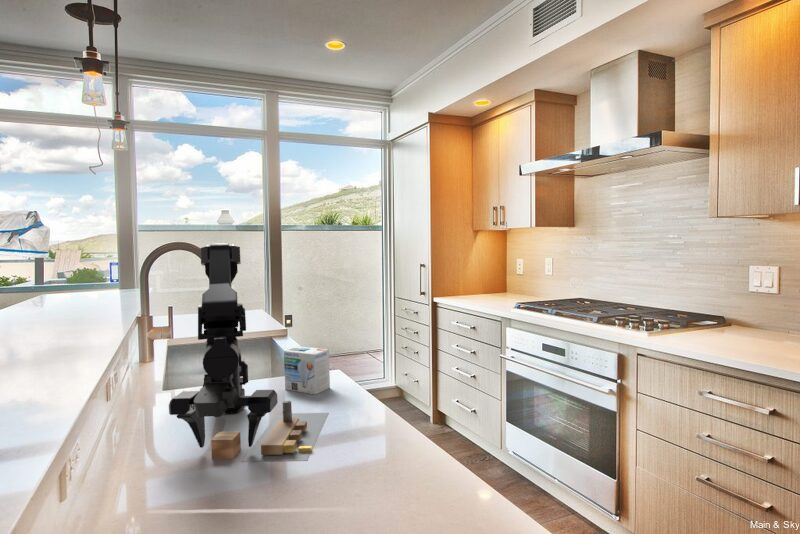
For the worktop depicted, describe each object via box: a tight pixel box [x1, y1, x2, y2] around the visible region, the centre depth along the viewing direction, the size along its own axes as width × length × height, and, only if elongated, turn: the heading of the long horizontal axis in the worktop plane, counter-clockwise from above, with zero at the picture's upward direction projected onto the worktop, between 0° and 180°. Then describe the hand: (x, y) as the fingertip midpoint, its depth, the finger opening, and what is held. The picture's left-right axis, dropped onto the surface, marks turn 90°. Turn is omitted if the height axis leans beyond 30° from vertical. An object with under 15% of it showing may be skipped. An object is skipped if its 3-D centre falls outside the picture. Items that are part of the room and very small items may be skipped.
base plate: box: [241, 412, 330, 463], centre depth 104 cm, size 12×25×1 cm, turn 179°
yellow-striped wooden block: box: [210, 430, 242, 460], centre depth 95 cm, size 4×4×4 cm
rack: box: [261, 400, 307, 455], centre depth 100 cm, size 6×14×6 cm, turn 179°
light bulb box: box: [283, 345, 331, 395], centre depth 137 cm, size 11×7×11 cm, turn 62°
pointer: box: [298, 446, 313, 453], centre depth 96 cm, size 2×1×1 cm, turn 89°
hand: (226, 446), depth 95 cm, fingers open, 9 cm apart
